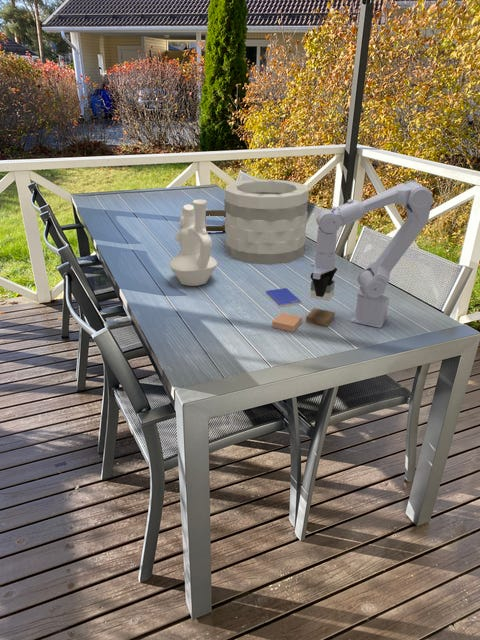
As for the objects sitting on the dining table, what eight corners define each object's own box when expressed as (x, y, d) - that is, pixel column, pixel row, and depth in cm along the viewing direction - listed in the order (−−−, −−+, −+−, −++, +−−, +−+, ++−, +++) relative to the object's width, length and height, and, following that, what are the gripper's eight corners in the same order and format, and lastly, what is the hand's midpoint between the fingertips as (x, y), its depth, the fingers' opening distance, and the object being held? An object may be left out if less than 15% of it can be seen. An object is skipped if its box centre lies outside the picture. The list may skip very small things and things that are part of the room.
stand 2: (334, 317, 159) (334, 312, 159) (327, 326, 154) (327, 321, 153) (313, 313, 162) (313, 307, 161) (305, 322, 157) (306, 316, 156)
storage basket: (286, 235, 238) (288, 177, 226) (319, 259, 208) (324, 193, 196) (215, 243, 228) (214, 182, 216) (239, 269, 199) (239, 200, 186)
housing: (333, 295, 155) (334, 280, 153) (328, 301, 151) (330, 285, 149) (315, 292, 158) (316, 277, 155) (310, 297, 154) (311, 282, 152)
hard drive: (302, 301, 169) (287, 287, 179) (279, 304, 166) (265, 290, 177) (301, 305, 169) (286, 291, 180) (279, 308, 167) (265, 294, 177)
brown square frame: (174, 233, 242) (174, 224, 240) (190, 216, 269) (190, 208, 267) (237, 236, 237) (237, 227, 235) (247, 219, 264) (247, 210, 262)
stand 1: (301, 322, 156) (302, 317, 156) (293, 332, 151) (293, 326, 150) (281, 318, 159) (281, 312, 158) (272, 327, 154) (272, 321, 153)
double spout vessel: (209, 270, 197) (207, 188, 182) (227, 291, 178) (226, 202, 164) (165, 276, 191) (159, 192, 177) (179, 298, 173) (173, 206, 158)
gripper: (321, 242, 155) (318, 282, 161) (304, 256, 144) (301, 299, 150) (343, 245, 152) (339, 286, 158) (327, 260, 141) (324, 303, 147)
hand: (322, 293), depth 154 cm, fingers closed on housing, 4 cm apart
